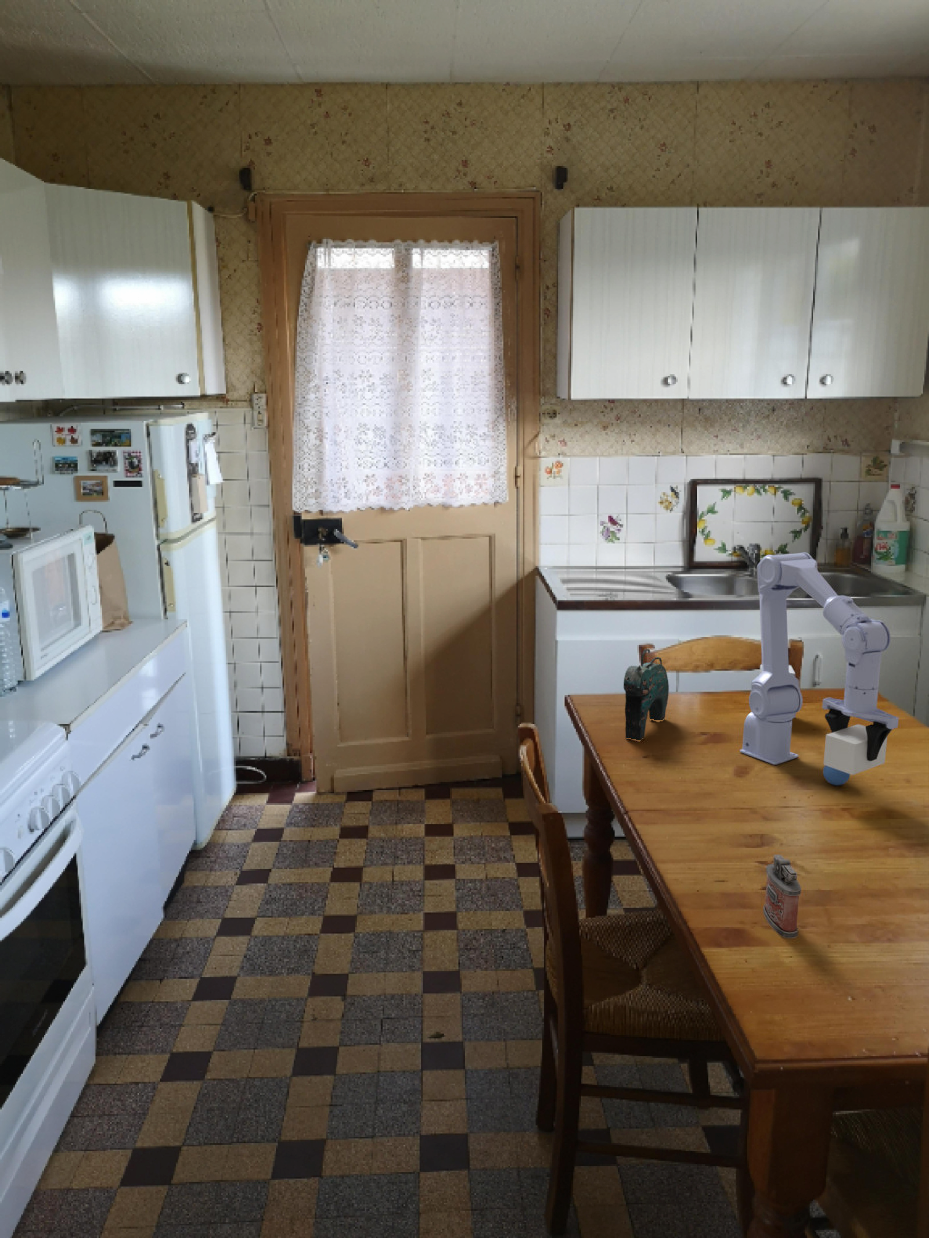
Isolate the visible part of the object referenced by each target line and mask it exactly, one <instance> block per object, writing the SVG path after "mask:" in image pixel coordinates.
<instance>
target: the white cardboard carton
mask: <svg viewBox="0 0 929 1238" xmlns="http://www.w3.org/2000/svg"><path fill="white" fill-rule="evenodd" d="M866 726H867V725H866ZM866 726H865V725H863V724H859V723H858V724H855V725H851V726H848V728H845V729H842V730H839V731H836V732H833V733H832V732H830V733H827V734H825V745H824V756H823V766H825V765H826V766H829V767H832V768H834V769H837V770H840V771H843V772H846V773H848V774H850V776H854V775H857V774H859V773H861V772H865V771H867V770H869V769H872V768H875V767H878V766H880V765H883V764H885V763H886V754H887V753H886V752H887V743H888V742H887V741H888V736H887V737H886V739H885V740H884V742H883V744H882V746H881V748H880V751H879V753H878V756H877V759H876V760H873V761H868V760H867V747H868V740H867V732H866Z"/></svg>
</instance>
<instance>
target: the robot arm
mask: <svg viewBox="0 0 929 1238" xmlns="http://www.w3.org/2000/svg"><path fill="white" fill-rule="evenodd" d="M756 571H757V572H756V573H757V592H758V594H759V595H758V596H759V615H760V618H759V621H760V643H761V645H760V646H761V647H760V648H761V664H762V673H761V674H760V673H759V675H757V677H755V678H754V679H753V680H752V681H751V684H750V686H751V689H750V694H749V697H748V704H749V708H750V713H748V714H747V716H746V718H745V720H744V723H743V733H742V735H743V736H742V748H741V749H739V752H740V753H742V754H744V755H747V756H750V757H752V758H755V759H757V760H760V761H763V762H766V763H768V764H771V765H774V766H775V765H776V766H777V765H779V764H782V763H785V762H788V761H791V760H795V759H797V758H798V757H799V754H797V753H794V752H791V741H792V730H793V729H792V727H793V719H794V718H796V713H799V712H800V711H801V710H802V707H803V701H804V700H803V695H802V691H801V689H800V682H799V681H800V680H799V679H798V678H797V677H796V676H795V677H794V676H793V675H792V674H790V673H789V665H790V664H789V663H790V662H789V643H788V642H789V639H788V615H787V614H788V613H787V612H788V611H787V609H788V608H787V607H788V606H787V598H788V597H789V596H790V595H791V594H792V593H793V592H794V591H795V590H797V589H798V588H801V589H802V590H803V591H805V593H807V594H808V595H809V596H810V597H811V598H812V599H813V600H815V601H816V602H817V603H818V604H819V605H820V606H821V607H822V608H823V610H822V615H823V617H824V619H825V620H827V622H828V623H829V624H830V625H831V627H833V628H834V629H835V630H836V631H837V633H839V635H840V636H841V644H842V647H843V649H844V658H845V661H846V662H847V663H846V669H845V670H846V672H845V673H846V675H845V681H844V682H845V684H844V695H843V696H844V697H843V699H837V698H833V697H826V698H823V699H822V707H821V708H822V709H823V710H826V711H827V710H829V711H828V712H827V713H825V714H824V718H825V720H826V722H827V725H828V726H829V729H830V733H833V732H836V731H839V730H842V729H845V728H848V727H849V723H850V719H851V717H854V718H856V719H861V720H864V721H867V722H870V723H872V724H869V725H866V732H867V740H868V747H867V760H868V761H873V760H876V759H877V756H878V753H879V751H880V748H881V746H882V744H883V742H884V740H885V739H886V737H887V738H888V736H889V734H890V733H891V732H892V730H894V729H896V728H898V727H899V719H900V717H899V716H896V715H893V714H890V713H888V712H886V711H884V710H882V709H879V708H878V705H877V704H878V694H879V687H880V684H879V683H880V674H881V665H882V652H884V651H886V650H887V649H888V648H889V647H890V643H891V633H890V630H889V627H888V626H887V625H886V624H885V622H884V621H883V620H879V619H877V620H876V619H873V618H872V617H871V618H870V617H869V616H868V615H867V614H866V613H865V612H864V611H862V609H860V607H859V606H858V605H856V603H855V602H854V599H853V598H852V597H851V596H847V595H838V594H837V592H836V591H835V590H834V589H833V588H832V586H831V585H830V584H829V583H828V581H826V579H825V578H824V577H823V575H822V574H821V573H820V572H819V571H818V561H817V560H816V559H814V558H813V557H812V556H811V554H809V553H808V552H805V551H804V552H799V553H788V554H787V553H785V554H767V555H765V556H764V557H763V558H762V559H761V560H760V561H759V563H758V564H757V566H756ZM782 685H783V686H782ZM774 686H775V687H774Z"/></svg>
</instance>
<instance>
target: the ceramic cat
mask: <svg viewBox="0 0 929 1238" xmlns="http://www.w3.org/2000/svg"><path fill="white" fill-rule="evenodd" d="M646 652H647V653H648V654H650V653H651V650H650V649H649V648H646V649H644V650H643V651H642V653H641V659H640V660H641V662H640V665H630V666H628V668H626V671H625V673H624V677H623V690H624V692H625V695H624V698H625V706H624V713H625V714H624V715H625V728H624V730H625V739H626V738H631V739H636V740H641V739H642V738H645V733H646V727H647V720H648V719H649V718H650V719H654V720H663V719H664V718H665V719H666V710H667V706H668V700H669V693H670V690H669V689H670V687H669V686H670V685H669V678H668V672H667V669H666V668H665V666H664V665H663V661H662V657H660V656H656V657H654V658H652V659H651V660H650V662H646V663H645V662H644V656H645V654H646ZM656 660H658V661H659V663H655V661H656ZM648 717H649V718H648ZM665 719H664V720H665ZM641 741H642V740H641Z"/></svg>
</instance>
